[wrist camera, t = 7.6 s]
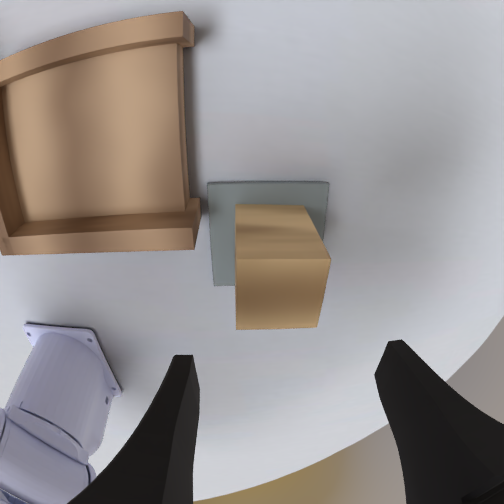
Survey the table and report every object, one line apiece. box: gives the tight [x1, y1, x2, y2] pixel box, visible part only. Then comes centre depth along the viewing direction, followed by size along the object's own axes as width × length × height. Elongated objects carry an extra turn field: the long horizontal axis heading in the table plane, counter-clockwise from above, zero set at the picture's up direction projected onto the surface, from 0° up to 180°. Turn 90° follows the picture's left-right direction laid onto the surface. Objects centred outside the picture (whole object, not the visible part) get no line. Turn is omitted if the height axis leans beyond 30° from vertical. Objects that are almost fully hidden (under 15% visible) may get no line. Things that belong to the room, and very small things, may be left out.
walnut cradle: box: [0, 11, 201, 255], centre depth 14 cm, size 13×11×4 cm
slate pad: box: [207, 181, 329, 286], centre depth 20 cm, size 7×7×1 cm
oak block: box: [235, 204, 331, 330], centre depth 17 cm, size 4×4×6 cm
